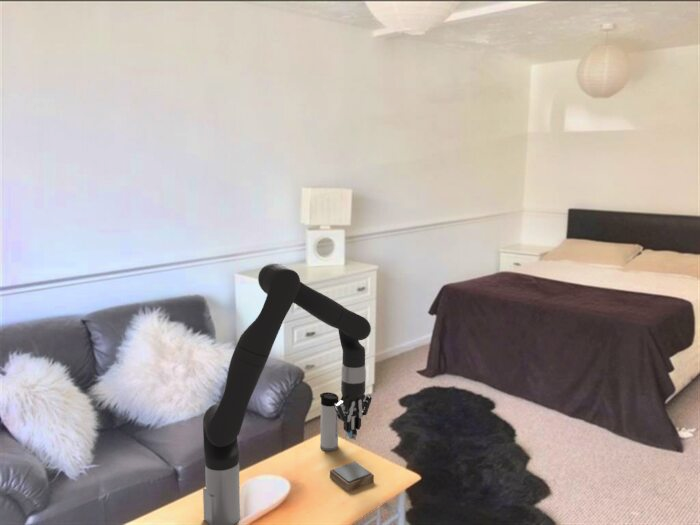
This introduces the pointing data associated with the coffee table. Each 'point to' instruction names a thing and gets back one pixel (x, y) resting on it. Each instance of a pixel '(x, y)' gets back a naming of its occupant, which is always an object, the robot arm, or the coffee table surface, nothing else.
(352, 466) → the tray
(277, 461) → the coffee table surface
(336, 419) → the travel mug
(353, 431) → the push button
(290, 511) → the coffee table surface
